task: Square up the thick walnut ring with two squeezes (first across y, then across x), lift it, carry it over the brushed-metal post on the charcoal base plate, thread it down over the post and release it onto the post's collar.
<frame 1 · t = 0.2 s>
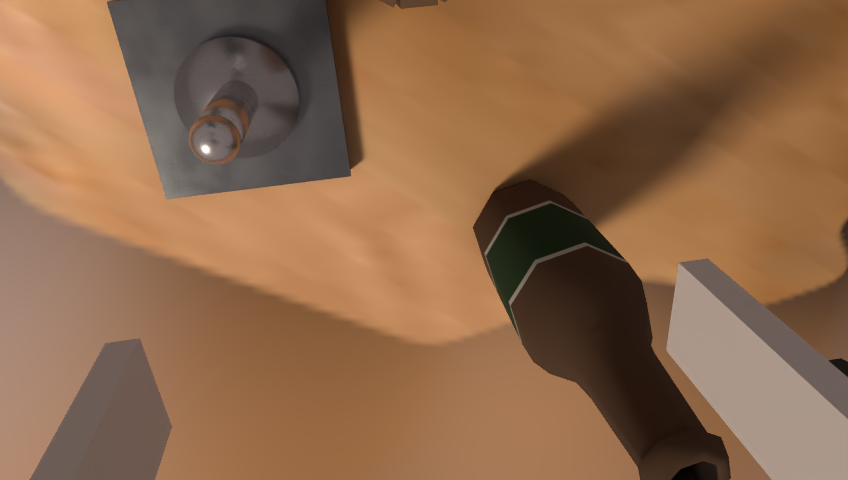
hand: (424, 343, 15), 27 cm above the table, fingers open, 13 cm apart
beer bottle: (520, 224, 45), on the table
post: (242, 92, 37), on the table
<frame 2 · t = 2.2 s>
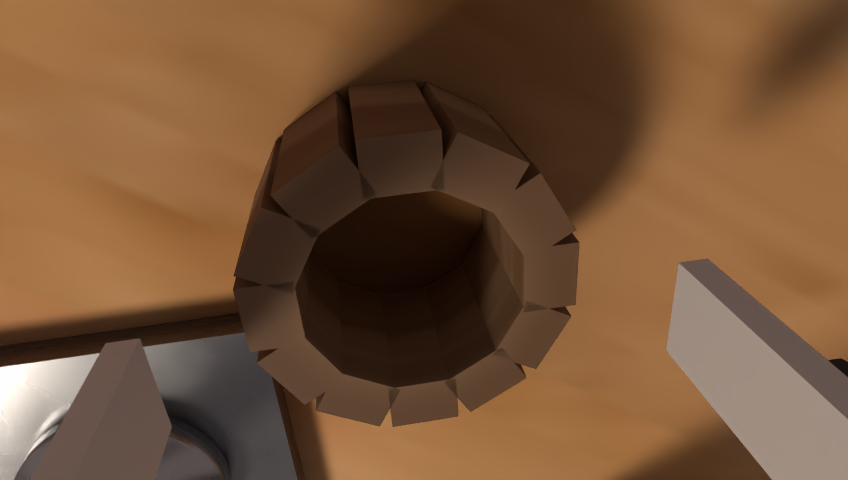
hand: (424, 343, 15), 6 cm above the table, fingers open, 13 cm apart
ring: (394, 216, 20), on the table
post: (139, 456, 23), on the table
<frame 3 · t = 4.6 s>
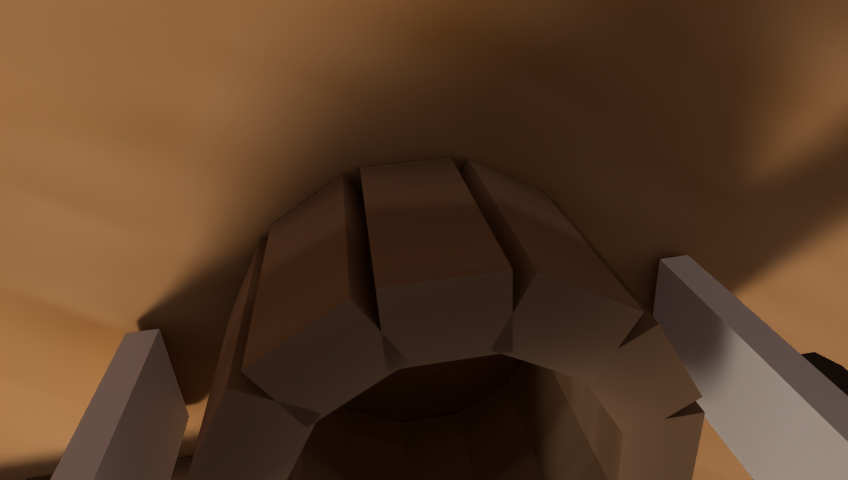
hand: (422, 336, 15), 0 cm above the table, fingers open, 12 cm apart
ring: (420, 329, 15), on the table
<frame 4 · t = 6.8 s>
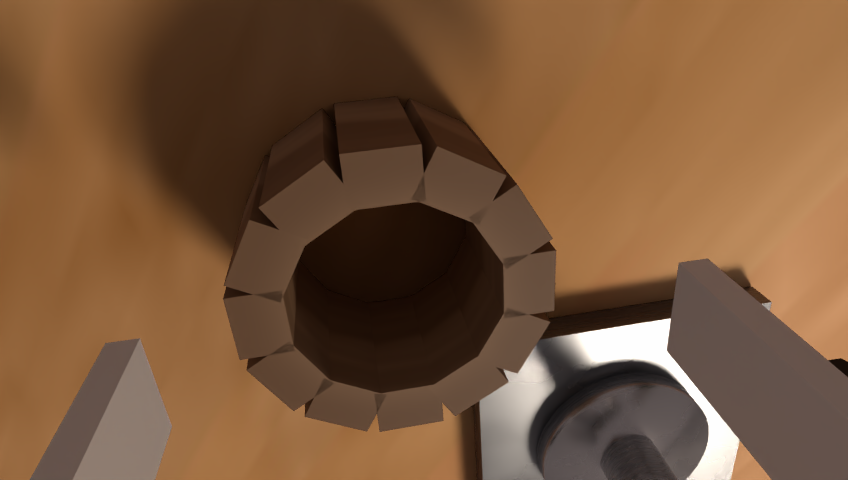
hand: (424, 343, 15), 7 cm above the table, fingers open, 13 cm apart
ring: (381, 227, 21), on the table
post: (605, 419, 27), on the table
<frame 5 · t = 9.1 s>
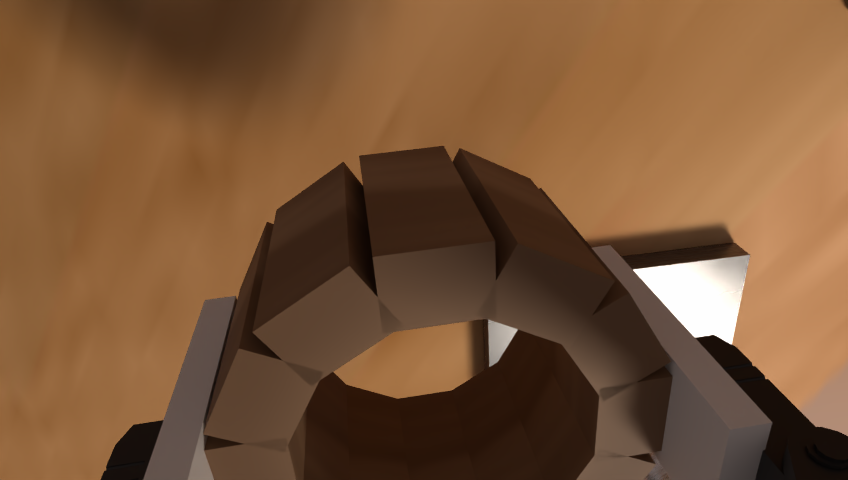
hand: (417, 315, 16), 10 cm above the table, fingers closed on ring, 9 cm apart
ring: (416, 309, 16), point 9 cm above the table, touching gripper
post: (601, 361, 30), on the table
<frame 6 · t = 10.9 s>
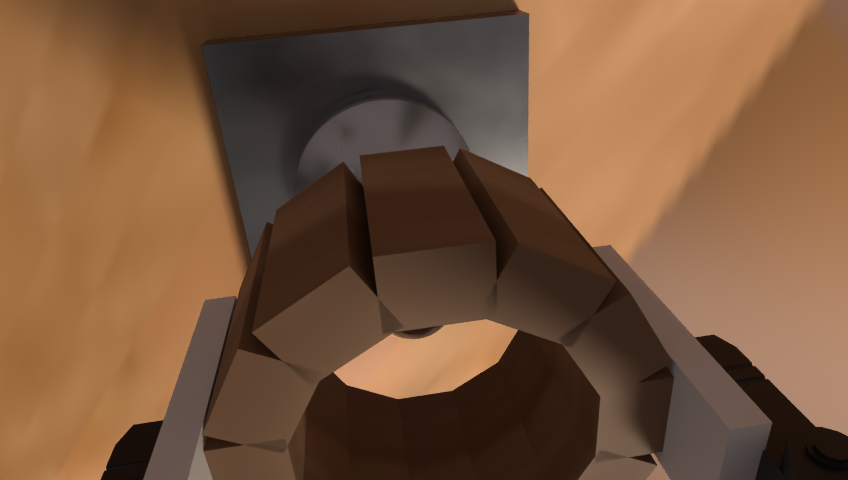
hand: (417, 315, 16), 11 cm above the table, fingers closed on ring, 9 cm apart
ring: (417, 309, 16), point 11 cm above the table, touching gripper
post: (383, 172, 25), on the table
when the fingers open (4 cm above the table, at t = 13.0 s): ring drops 1 cm, resting on post.
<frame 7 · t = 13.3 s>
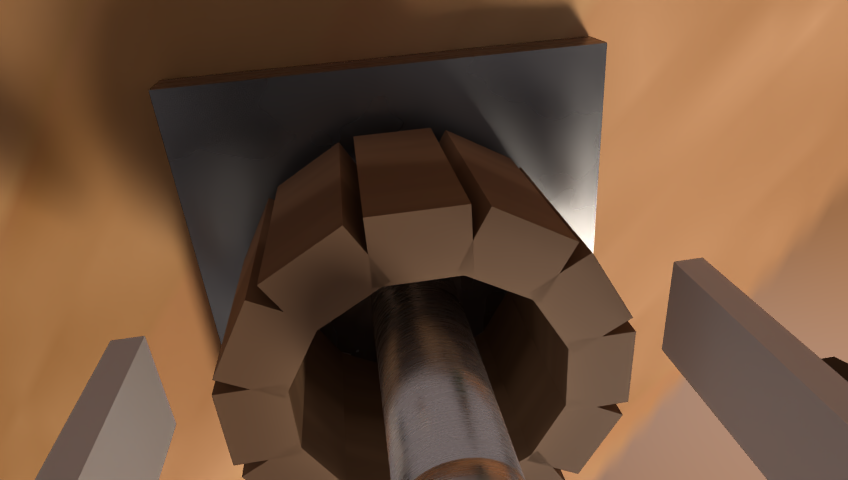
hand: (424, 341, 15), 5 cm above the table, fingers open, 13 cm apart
ring: (407, 281, 17), point 2 cm above the table, touching post
post: (401, 247, 19), on the table
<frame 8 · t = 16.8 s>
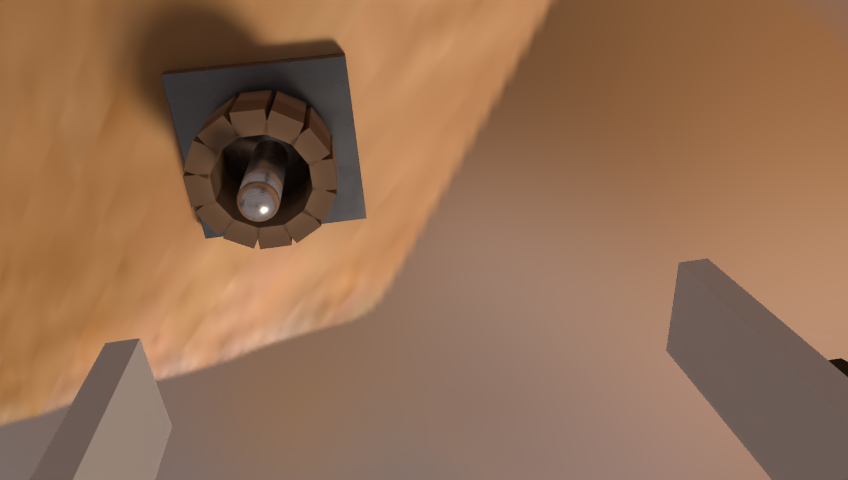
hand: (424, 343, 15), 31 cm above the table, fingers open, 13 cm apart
ring: (269, 156, 41), point 2 cm above the table, touching post
post: (273, 146, 43), on the table
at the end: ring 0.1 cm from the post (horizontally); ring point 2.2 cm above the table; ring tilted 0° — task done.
